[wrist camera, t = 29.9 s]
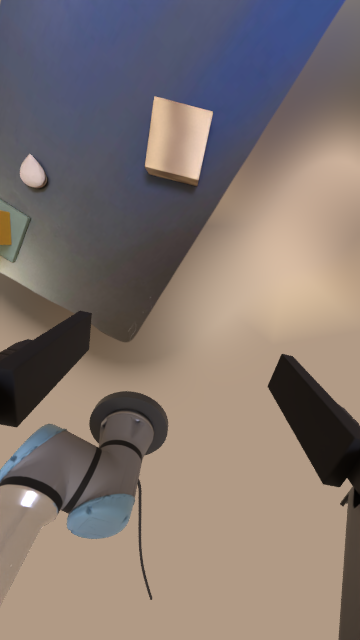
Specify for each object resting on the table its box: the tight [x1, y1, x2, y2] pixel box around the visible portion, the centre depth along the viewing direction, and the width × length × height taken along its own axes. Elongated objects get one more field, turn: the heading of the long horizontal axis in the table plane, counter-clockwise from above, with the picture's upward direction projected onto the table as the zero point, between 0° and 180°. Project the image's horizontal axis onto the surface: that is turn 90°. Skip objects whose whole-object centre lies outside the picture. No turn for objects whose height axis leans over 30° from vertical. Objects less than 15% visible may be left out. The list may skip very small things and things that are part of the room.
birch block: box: [145, 96, 213, 186], centre depth 35 cm, size 9×9×4 cm
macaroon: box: [20, 154, 47, 188], centre depth 37 cm, size 4×5×2 cm
